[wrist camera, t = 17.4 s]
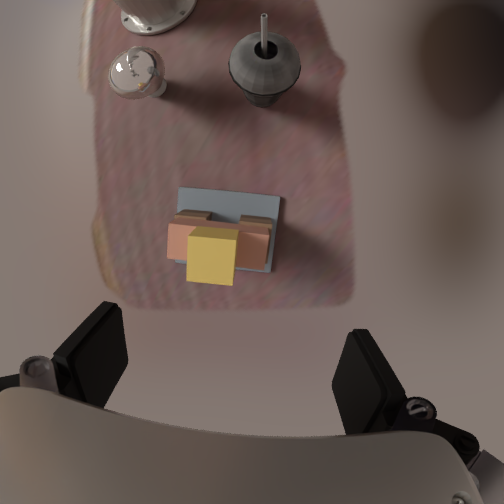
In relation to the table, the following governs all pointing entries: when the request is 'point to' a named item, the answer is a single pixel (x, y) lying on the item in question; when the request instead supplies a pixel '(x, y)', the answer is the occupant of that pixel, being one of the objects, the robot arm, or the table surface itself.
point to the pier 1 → (194, 214)
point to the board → (231, 209)
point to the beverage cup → (264, 65)
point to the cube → (212, 255)
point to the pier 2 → (258, 222)
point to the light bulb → (137, 73)
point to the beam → (249, 237)
